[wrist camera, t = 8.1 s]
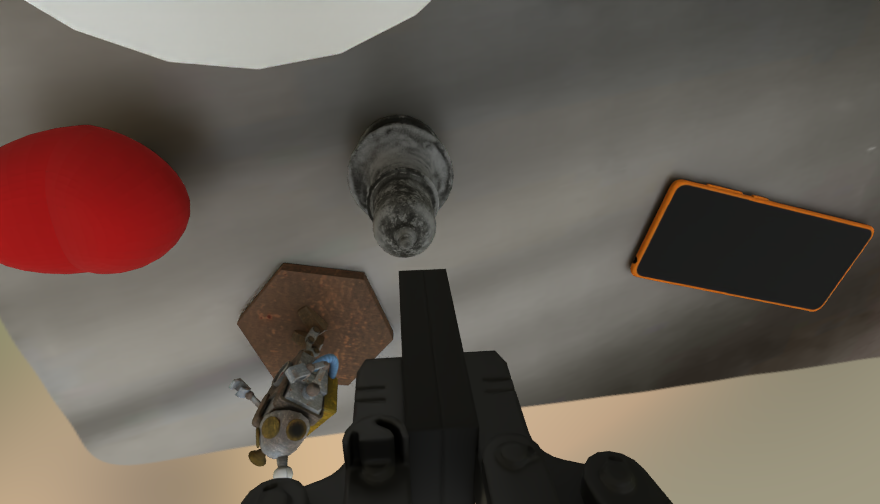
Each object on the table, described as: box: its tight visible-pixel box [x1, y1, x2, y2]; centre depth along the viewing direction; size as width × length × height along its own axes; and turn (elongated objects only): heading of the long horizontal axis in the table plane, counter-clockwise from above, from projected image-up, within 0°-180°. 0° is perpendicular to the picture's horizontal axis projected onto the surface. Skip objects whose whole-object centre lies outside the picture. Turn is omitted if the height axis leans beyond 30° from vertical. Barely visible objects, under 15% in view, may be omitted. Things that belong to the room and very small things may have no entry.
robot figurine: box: [229, 263, 393, 479], centre depth 31 cm, size 11×9×12 cm
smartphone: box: [630, 179, 874, 311], centre depth 36 cm, size 8×17×1 cm, turn 75°
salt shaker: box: [348, 115, 453, 258], centre depth 26 cm, size 6×6×12 cm
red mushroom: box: [0, 125, 190, 274], centre depth 25 cm, size 9×7×10 cm
